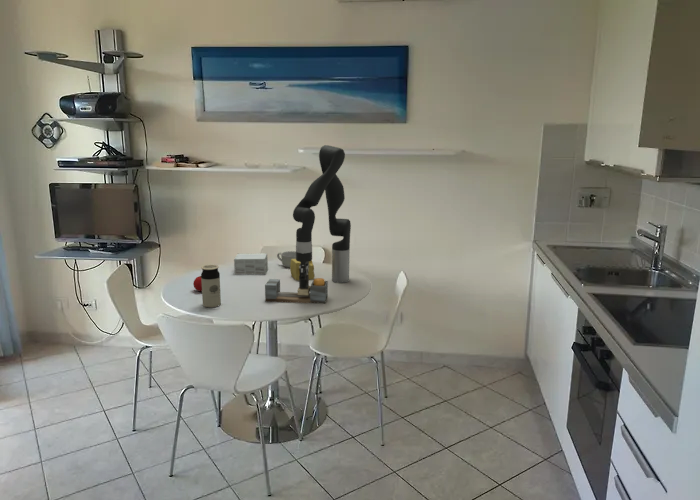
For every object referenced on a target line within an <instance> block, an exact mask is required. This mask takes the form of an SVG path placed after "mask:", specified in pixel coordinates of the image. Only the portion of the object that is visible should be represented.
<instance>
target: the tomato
mask: <svg viewBox="0 0 700 500" xmlns="http://www.w3.org/2000/svg"><path fill="white" fill-rule="evenodd" d="M193 287H194V289H195V290H196V291H197V292H201V293H202V281H201V275H199V276H197V277H196V278H194V280H193Z"/></svg>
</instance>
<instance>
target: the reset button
mask: <svg viewBox="0 0 700 500" xmlns="http://www.w3.org/2000/svg"><path fill="white" fill-rule="evenodd" d="M313 280H314V285H316V286H324V281H325V279H324V278H321V277H317V278H314V279H313Z"/></svg>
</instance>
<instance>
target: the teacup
mask: <svg viewBox="0 0 700 500" xmlns="http://www.w3.org/2000/svg"><path fill="white" fill-rule="evenodd" d="M280 256H281V257H280ZM276 257H277V259H278V260H279V261H280V262H281V264H282V266H284V267H285V268H289V269H290V263H291V259H296V250H289V251H288V250H287V251H286V250H285V251H283V252H278V253H277V254H276Z"/></svg>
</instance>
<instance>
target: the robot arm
mask: <svg viewBox="0 0 700 500" xmlns="http://www.w3.org/2000/svg"><path fill="white" fill-rule="evenodd" d="M345 159H346V155H345V150H344V149H342V148H341V147H337V146H332V145H328V144H327V145H326V144H325V145H322V146H321V147H320V150H319V152H318V160H319V164H320V168H321V172H322V173H321V175H320V176H319V177H317V178H316V179H315V180H313V182H311V184H309V187H308V189H307V191H306V193H305V195H304V197H303V198H302V199H301V200H300V201H299V203H297V205H296V206H295V208H294V209H293V212H292V218H293V220H294V221H295V222H297V223H301V224H302V225H301V227H299V228H297V229H296V231H295V232H296V234H295V238H296V241H295V251H296V260H297V261H299V262H301V263H300V265H299V274H300V280H301V288H305V287H306V275H308V273H309V272H308V271H309V261H311V260H312V261H313V243H312V240H313V239H312V233H313V229H314V225H315V220H316V215H315V211H314V210H313V209H312V208H313V207H317V206H318V204H319V202H320V201H321V199H322V197H323V194H324V193H325V199H326V205H327V212H328V213H327V214H328V229H329V234H330V235H331V236H333V237H342V239H341V240H338V241H335V242H333V243H332V244H331V281H332V282H334V283H339V284H340V283H347V282H349V281H350V257H351V256H350V253H351V252H350V250H351V249H350V246H351V244H350V243H351V230H352V229H351V228H352V227H351V226H352V224H351V220H350V219H349V218H336V215H337V213H338V211H339V210H340V208H341V207H342V205H343V204H344V201H345V188H344V185H343V183H342V182H341V180H340V178H339V176H338V175H337V173H338V171H339V170H340V169H341V167H342V166H343V164H344V161H345ZM302 276H304V277H302Z"/></svg>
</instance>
